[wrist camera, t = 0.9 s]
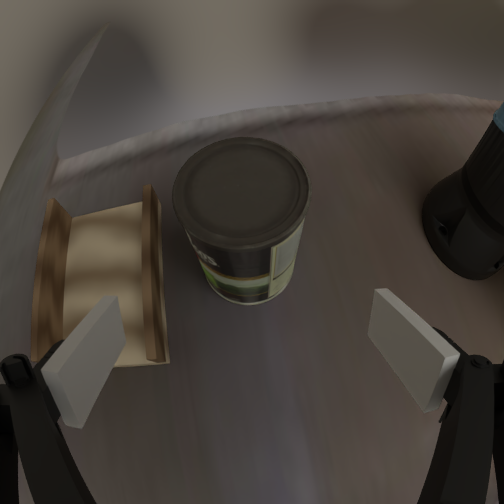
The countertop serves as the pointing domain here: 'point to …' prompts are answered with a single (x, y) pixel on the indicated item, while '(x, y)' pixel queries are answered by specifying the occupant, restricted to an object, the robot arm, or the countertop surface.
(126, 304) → the curved wooden tray
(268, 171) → the coffee can
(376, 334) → the robot arm
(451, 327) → the countertop surface
